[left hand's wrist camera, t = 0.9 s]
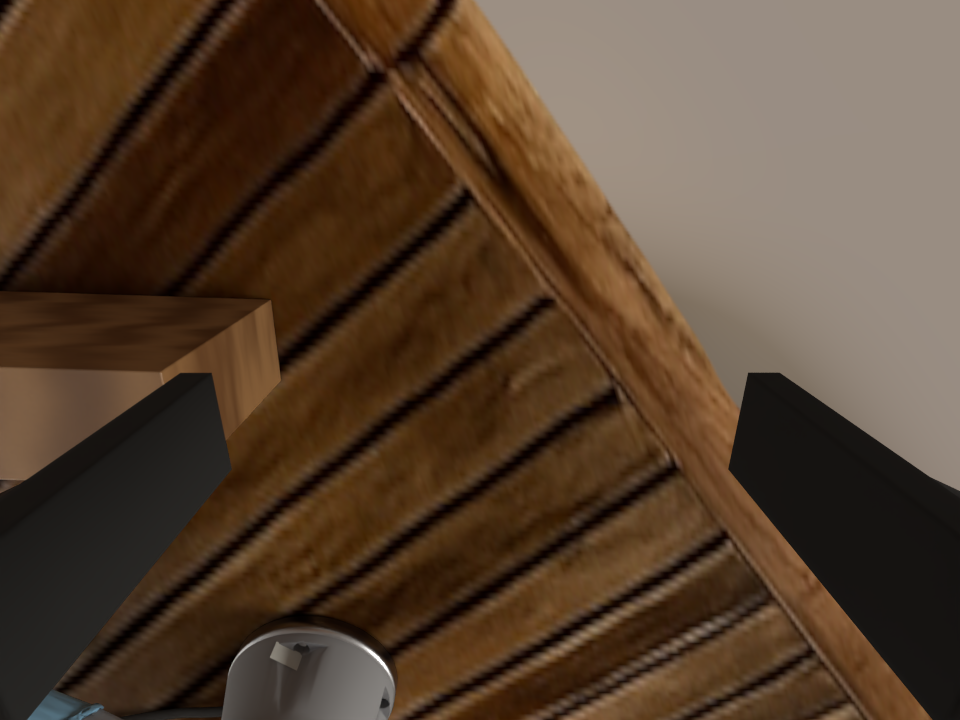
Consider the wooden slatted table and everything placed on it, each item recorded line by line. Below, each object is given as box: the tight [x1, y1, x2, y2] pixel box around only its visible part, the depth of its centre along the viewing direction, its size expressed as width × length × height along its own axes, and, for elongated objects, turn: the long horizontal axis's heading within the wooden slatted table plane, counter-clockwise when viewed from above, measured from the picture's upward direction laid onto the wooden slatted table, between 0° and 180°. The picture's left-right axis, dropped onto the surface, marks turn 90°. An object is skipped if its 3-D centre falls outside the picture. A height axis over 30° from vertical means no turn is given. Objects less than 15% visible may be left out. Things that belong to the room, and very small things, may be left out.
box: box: [0, 291, 281, 480], centre depth 30 cm, size 21×6×13 cm, turn 88°
